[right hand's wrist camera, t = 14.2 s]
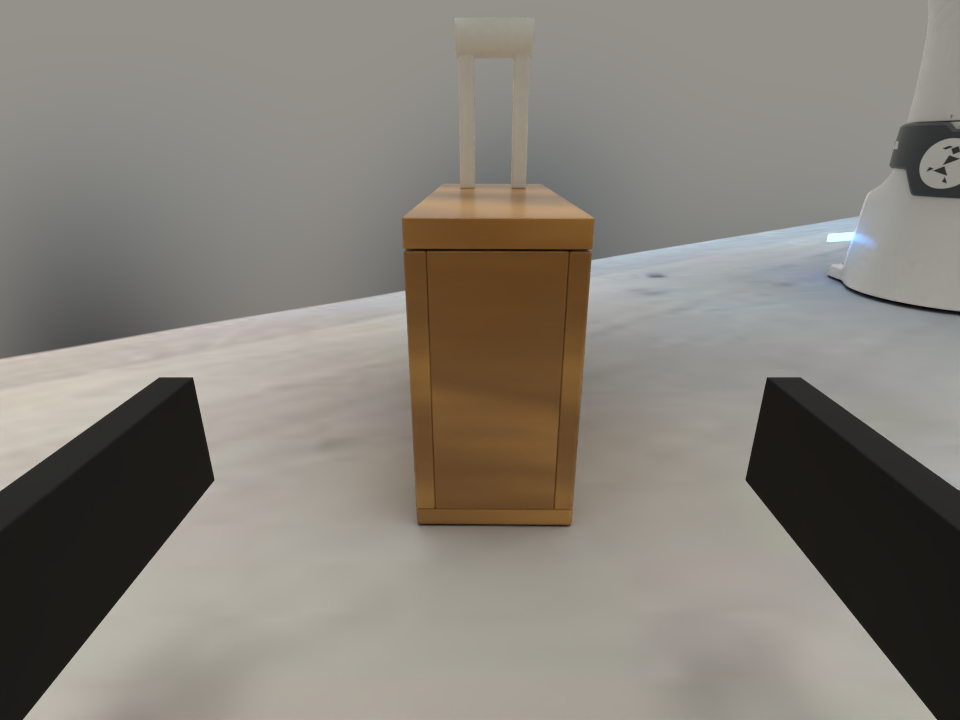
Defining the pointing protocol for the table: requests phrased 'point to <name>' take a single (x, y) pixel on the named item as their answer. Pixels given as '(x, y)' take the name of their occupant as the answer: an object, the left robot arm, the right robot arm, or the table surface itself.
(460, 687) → the table surface
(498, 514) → the chest
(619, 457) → the table surface
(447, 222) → the lid
